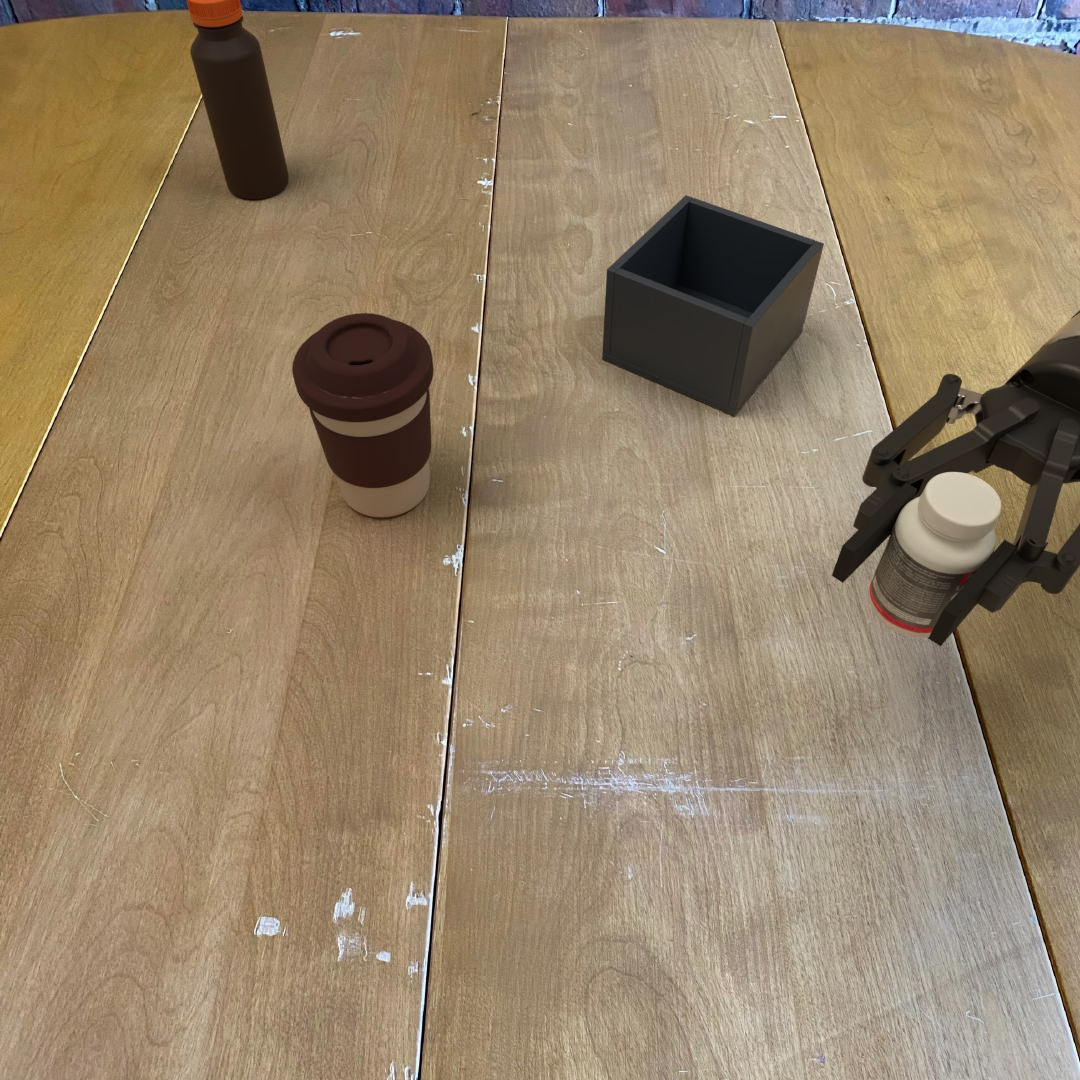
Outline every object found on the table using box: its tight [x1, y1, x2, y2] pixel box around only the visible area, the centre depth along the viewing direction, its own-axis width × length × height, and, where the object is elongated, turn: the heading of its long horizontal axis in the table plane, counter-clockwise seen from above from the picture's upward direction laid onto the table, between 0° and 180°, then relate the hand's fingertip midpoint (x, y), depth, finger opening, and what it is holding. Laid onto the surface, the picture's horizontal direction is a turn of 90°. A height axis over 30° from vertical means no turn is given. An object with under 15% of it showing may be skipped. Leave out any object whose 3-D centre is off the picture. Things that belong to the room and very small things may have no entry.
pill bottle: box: [867, 472, 1002, 639], centre depth 57 cm, size 5×5×10 cm
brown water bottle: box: [186, 0, 290, 200], centre depth 102 cm, size 7×7×20 cm
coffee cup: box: [291, 312, 434, 518], centre depth 75 cm, size 10×10×15 cm
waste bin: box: [601, 195, 825, 417], centre depth 88 cm, size 14×14×10 cm
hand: (891, 595), depth 53 cm, fingers closed on pill bottle, 5 cm apart
